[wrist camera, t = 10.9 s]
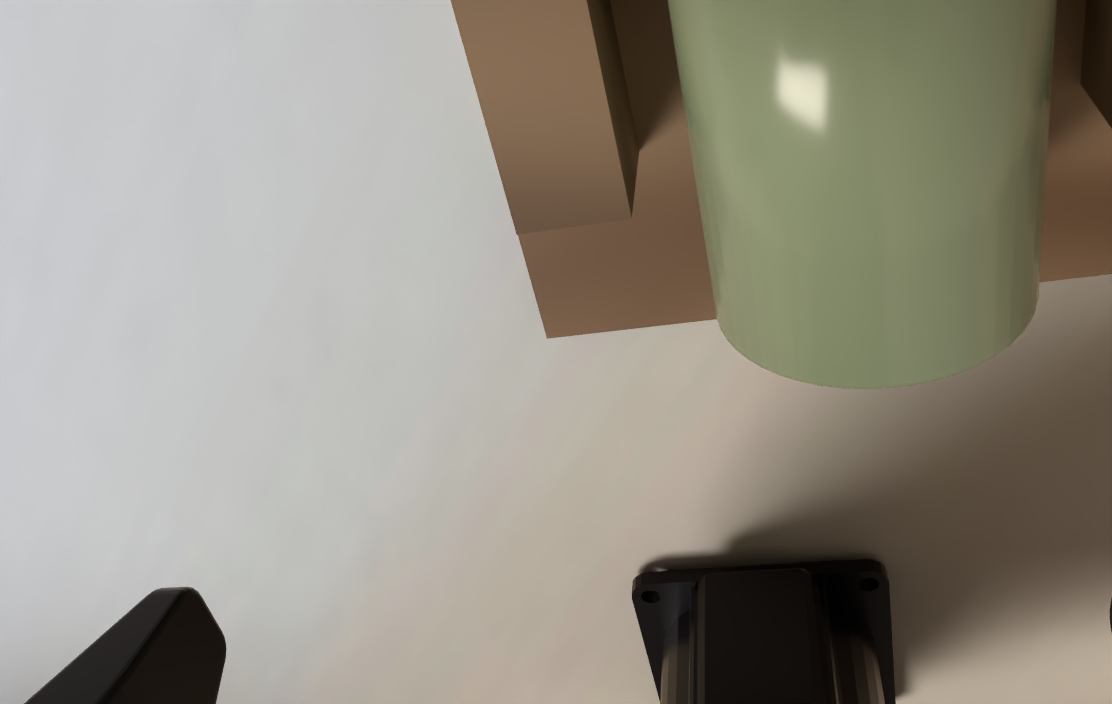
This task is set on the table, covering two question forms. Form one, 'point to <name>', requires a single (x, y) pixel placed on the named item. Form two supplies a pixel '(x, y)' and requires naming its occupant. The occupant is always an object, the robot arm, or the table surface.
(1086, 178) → the walnut U-rest
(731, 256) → the olive bottle
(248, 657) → the table surface
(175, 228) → the table surface
